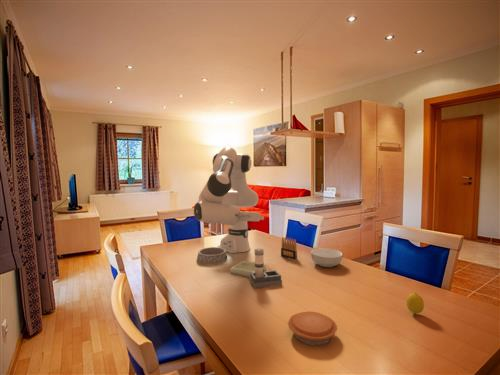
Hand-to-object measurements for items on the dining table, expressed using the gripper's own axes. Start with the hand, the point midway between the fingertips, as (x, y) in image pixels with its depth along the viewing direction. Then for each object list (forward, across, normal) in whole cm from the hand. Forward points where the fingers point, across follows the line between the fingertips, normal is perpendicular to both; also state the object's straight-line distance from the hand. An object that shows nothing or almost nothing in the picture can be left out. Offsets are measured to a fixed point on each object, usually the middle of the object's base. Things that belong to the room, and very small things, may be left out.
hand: (257, 217), depth 131 cm
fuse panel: (+9, +3, +30) cm, 31 cm away
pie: (0, -39, +38) cm, 54 cm away
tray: (+9, +19, +27) cm, 34 cm away
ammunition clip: (+40, +24, +20) cm, 51 cm away
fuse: (+6, +3, +28) cm, 29 cm away
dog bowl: (+1, +47, +26) cm, 54 cm away
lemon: (+40, -50, +31) cm, 71 cm away
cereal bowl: (+50, +4, +22) cm, 54 cm away
